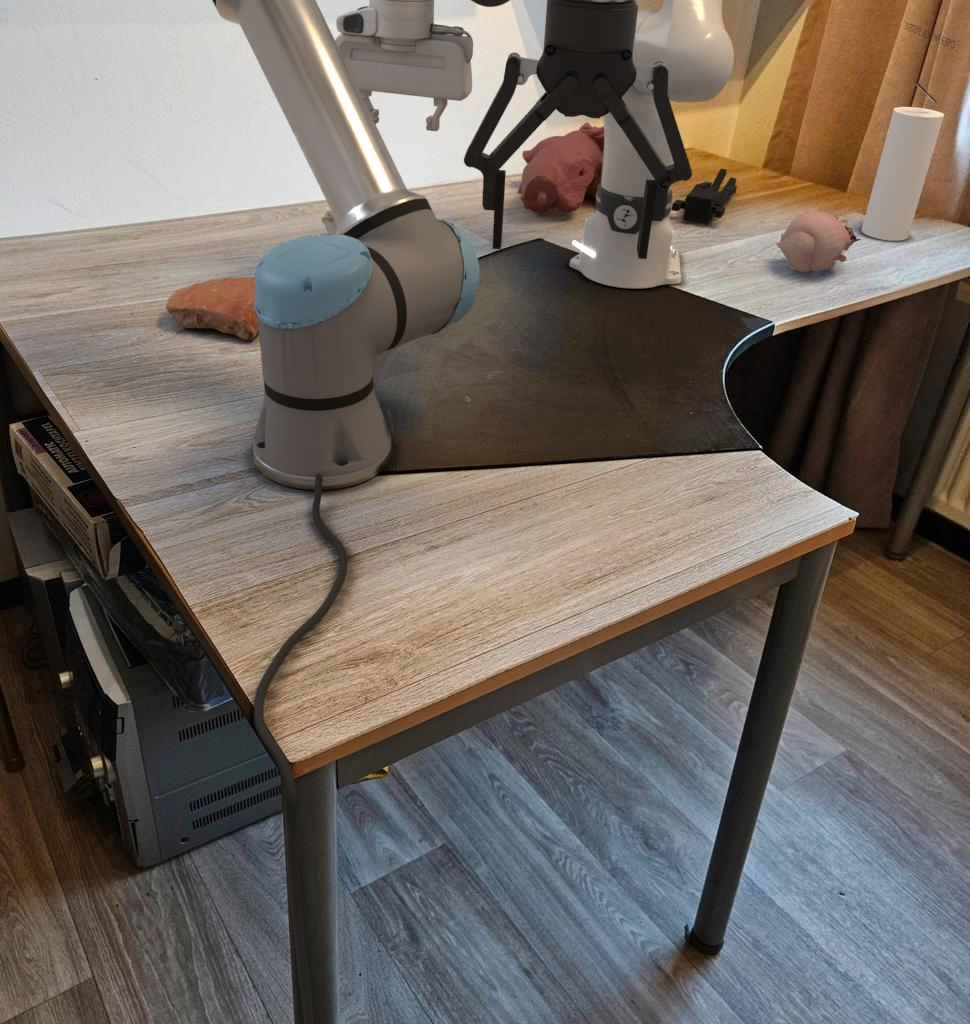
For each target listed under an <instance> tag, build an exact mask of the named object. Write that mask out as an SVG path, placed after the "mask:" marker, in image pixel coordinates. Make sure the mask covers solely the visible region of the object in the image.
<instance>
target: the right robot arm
mask: <svg viewBox="0 0 970 1024" xmlns="http://www.w3.org/2000/svg"><path fill="white" fill-rule="evenodd" d="M470 1H471V2H473V3H474V4H477V5H478V6H482V7H485V8H495V7H499V6H503V5H505V4H507V3H508V2H510V1H511V0H470ZM335 20H336V21H335V26H336V30H337V32H338V33H340V34H338V35H337V37H335V39H334V40H335V42H336V44H337V46H338V48H339V50H340V52H341V54H342V56H343V58H344V60H345V62H346V64H347V66H348V68H349V71H350V73H351V75H352V77H353V79H354V81H355V83H356V85H357V87H358V89H359V91H360V93H361V95H362V97H363V99H364V102H365V104H366V106H367V108H368V110H369V112H370V114H371V116H372V118H373V120H374V122H375V124H376V125H377V124H378V123H379V122H380V116H379V115H380V109H377V108H374V105H373V104H372V101H371V99H370V97H371V96H372V95H373V93H372V92H375V93H376V92H377V93H385V94H394V95H403V96H411V97H420V98H421V97H422V98H429V99H433V106H434V107H436V108H435V110H434V113H433V114H432V115H429V116H428V117H426V118H425V124H426V125H425V130H426V131H428V132H429V131H430V132H438V131H439V130H440V123H441V121H440V120H441V117H442V115H443V113H444V111H445V110H446V108H447V106H448V101H457V102H458V101H459V102H462V101H463V100H465V99H467V98H468V97H469V96H470V94H471V93H472V91H473V73H472V72H473V71H472V70H473V69H472V62H471V60H472V58H473V55H474V40H473V37H472V35H471V34H470V32H468V31H466V30H465V29H464V27H462V26H457V25H456V26H455V25H454V26H450V25H449V26H448V25H445V24H436V23H435V0H369V4H368V5H366V6H361V7H358V8H357V9H356V10H352V11H348V12H345V13H343V14H341V15H338V16H337V18H336V19H335ZM734 51H735V50H734V46H733V43H732V40H731V37H730V35H729V34H728V31H727V30H726V28H725V24H724V20H723V0H664V1H663V4H662V7H661V8H660V10H659V11H658V12H656V11H650V10H644V9H639V8H638V14H637V22H636V31H635V39H634V48H633V63H634V65H635V66H644V65H653V64H654V63H655V62H658V61H661V62H663V63H664V64H665V66H666V68H667V70H668V98H669V101H670V102H674V103H701V102H709V101H711V100H712V99H713V100H714V99H715V98H716V97H717V96H718V95H719V94H720V93H721V92H722V91H723V89H724V88H725V87H726V86H727V83H728V82H729V79H730V77H731V76H732V75H731V74H732V72H733V68H734V63H735V52H734ZM622 99H623V100H624V102H625V104H626V105H627V107H628V108H629V110H630V112H631V114H632V115H633V117H634V118H635V120H636V121H637V123H638V124H639V126H640V127H641V129H642V131H643V132H644V134H645V135H646V137H647V138H648V140H649V141H650V143H651V145H652V146H653V148H654V149H655V151H656V152H657V154H658V155H659V157H660V158H661V160H662V162H663V163H664V165H665V166H669V165H672V164H674V162H673V158H672V155H671V152H670V149H669V146H668V143H667V140H666V137H665V134H664V131H663V128H662V125H661V122H660V119H659V115H658V112H657V109H656V106H655V103H654V100H653V96H652V93H647V92H646V91H645V90H644V88H643V84H642V83H641V82H640V81H637V80H635V82H634V83H633V85H632V86H631V87H630V88H629V90H628V91H627V92H626V93H625V94H624V96H623V97H622ZM601 118H602V123H603V126H604V155H603V167H602V178H601V183H600V184H599V185H598V190H597V193H596V196H595V195H592V197H593V199H594V202H595V205H594V207H595V211H594V212H593V213H591V214H589V216H588V217H586V218H585V220H584V224H583V231H582V237H581V243H580V242H578V241H577V240H575V239H574V240H572V246H575V247H576V248H577V249H579V251H580V252H579V253H578V254H577V255H575V256H573V257H572V258H570V260H569V264H568V265H569V267H570V268H572V269H575V270H577V271H579V272H580V273H581V274H582V275H583V276H584V277H586V278H587V279H589V280H590V281H593V282H595V283H598V284H600V285H605V286H609V287H613V288H614V287H615V288H622V289H648V288H649V289H650V288H654V287H655V288H656V287H659V286H664V285H677V284H680V283H682V270H681V260H680V251H679V249H677V248H675V247H674V242H675V235H676V231H675V230H674V226H673V223H672V220H671V218H670V214H671V211H672V204H673V201H674V200H673V190H672V185H671V186H670V187H669V190H668V197H667V204H666V210H665V216H664V218H663V220H662V221H652V224H651V231H650V238H649V245H648V252H647V259H638V254H637V243H638V235H639V228H640V220H641V213H642V206H643V198H644V191H645V184H646V179H649V180H654V181H655V179H654V177H653V176H652V174H651V173H650V171H649V170H648V168H647V167H646V165H645V164H644V162H643V161H642V159H641V158H640V156H639V155H638V153H637V151H636V150H635V148H634V147H633V145H632V144H631V142H630V141H629V139H628V138H627V136H626V135H625V133H624V132H623V130H622V129H621V127H620V126H619V125H618V123H617V122H616V120H615V119H614V117H613V116H612V114H611V113H610V112H609V113H608V114H607V115H605V116H602V117H601Z"/></svg>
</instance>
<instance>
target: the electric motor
mask: <svg viewBox="0 0 970 1024" xmlns="http://www.w3.org/2000/svg"><path fill="white" fill-rule="evenodd" d="M321 223H322V224H323V225H324V226H325V231H326V232H327V234H336V232H337V229H338V223H337V221H336V219H335V217H334V214H333V212H332V210H328V211H326V212H325V214H324V216H321Z"/></svg>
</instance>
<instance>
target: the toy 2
mask: <svg viewBox="0 0 970 1024" xmlns="http://www.w3.org/2000/svg"><path fill="white" fill-rule="evenodd" d="M853 227H854V226H849V225H848V221H847V220H846V219H845V218H844V217H842V216H836V217H835V216H834V215H833V214H831V213H828V212H824V211H821V210H810V211H806V212H804V213H802V214H800V215H799V216H797V217H795V218H794V219H793V220H792V221H791V222H790V223H789V225H788V227H787V228H786V229H785V231H784V233H781V234H780V240H779V242H776V241H775V245H776V246H777V247H778V248H779V249H780V250H781V253H782V255H783V256H784V257H785V259H786V262H787V264H788V265H789V267H790V268H791V269H792V270H793V271H797V272H802V273H808V272H810V270H811V271H816V270H818V271H819V270H820V271H823V272H825V269H827V271H829V270H832V269H833V268H834V267H835V262H837V261H839V262H841V263H844V262H846V261H847V260H848V258H847V256H845V255H844V253H846V252H847V251H848V250H849V248H850V247H852V246H853V244H854V243H856V242H858V241H861V240H862V239H861V238H857V235H855V234H856V233H855V230H854V228H853Z"/></svg>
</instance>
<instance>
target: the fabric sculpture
mask: <svg viewBox="0 0 970 1024" xmlns="http://www.w3.org/2000/svg"><path fill="white" fill-rule="evenodd" d="M603 155H604V125H602V126H600V127H598V126H592V125H591V124H590V123H589V122H585V123H584V124H581V126H580V127H579V129H576V130H573V131H570V132H568V133H566V134H565V135H554V136H549V137H546V138H544V139H542V140H540V141H539V142H538V143H536V145H535V146H534V147H532V148H531V149H529V150H523V151H522V153H521V156H522V158H523V160H524V162H525V163H526V164H525V166H524V168H523V170H522V172H521V173H522V174H521V180H520V181H521V182H520V185H519V186H518V189H517V194H518V195H520V200H521V202H522V203H523V207H524V209H525V210H529V211H530V212H532V213H535V214H546V213H549V212H551V211H552V210H553V209H554V208H555V209H556V210H557V211H559V212H560V213H564V214H569V213H573V212H575V211H578V209H579V208H581V206H582V203H584V199H585V195H591V196H593V195H595V196H596V193H597V190H598V185H599V184H600V183H601V178H602V167H603Z"/></svg>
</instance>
